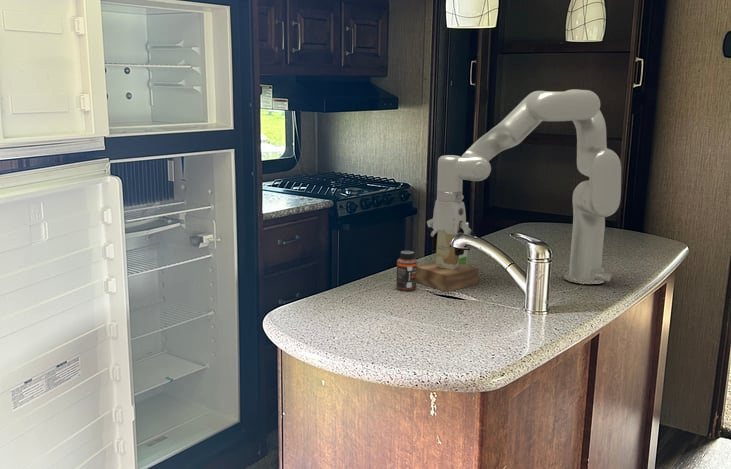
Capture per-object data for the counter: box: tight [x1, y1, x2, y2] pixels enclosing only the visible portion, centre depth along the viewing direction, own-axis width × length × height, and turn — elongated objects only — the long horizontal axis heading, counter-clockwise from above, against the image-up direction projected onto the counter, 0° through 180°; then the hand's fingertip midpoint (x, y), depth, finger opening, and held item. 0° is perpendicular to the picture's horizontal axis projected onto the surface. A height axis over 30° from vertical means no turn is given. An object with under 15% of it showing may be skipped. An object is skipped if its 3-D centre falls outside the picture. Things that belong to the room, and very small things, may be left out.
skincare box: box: [435, 228, 459, 270], centre depth 219 cm, size 6×4×12 cm
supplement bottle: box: [395, 250, 418, 292], centre depth 214 cm, size 6×6×11 cm
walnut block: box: [416, 260, 479, 293], centre depth 221 cm, size 14×14×5 cm
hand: (447, 251), depth 220 cm, fingers open, 9 cm apart
